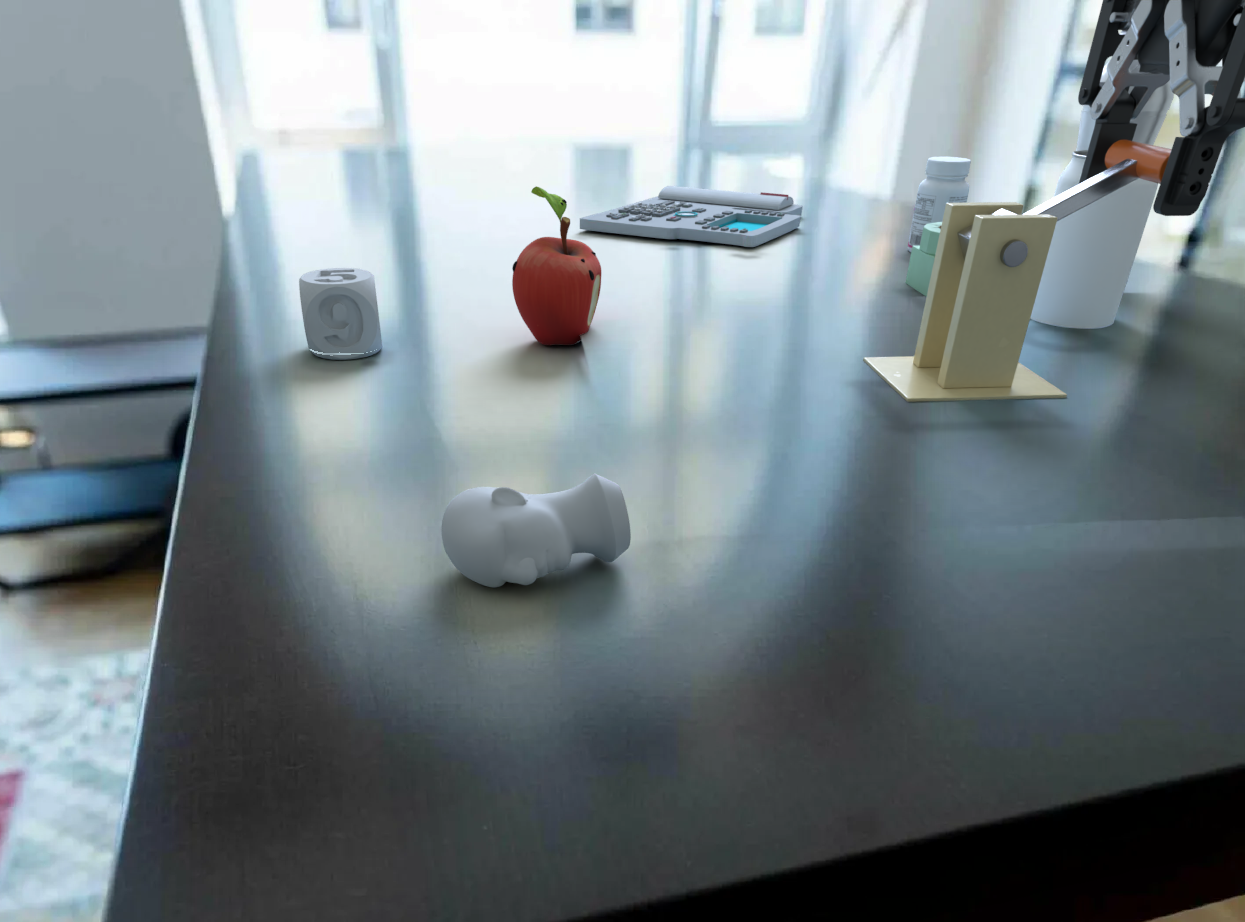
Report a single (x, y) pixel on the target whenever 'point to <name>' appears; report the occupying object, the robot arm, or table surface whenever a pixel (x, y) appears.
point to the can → (1092, 254)
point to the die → (340, 312)
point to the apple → (557, 283)
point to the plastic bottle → (1146, 120)
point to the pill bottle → (938, 193)
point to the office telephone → (702, 216)
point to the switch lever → (1099, 181)
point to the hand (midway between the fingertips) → (1132, 202)
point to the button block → (923, 258)
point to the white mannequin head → (533, 530)
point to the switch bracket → (977, 310)
